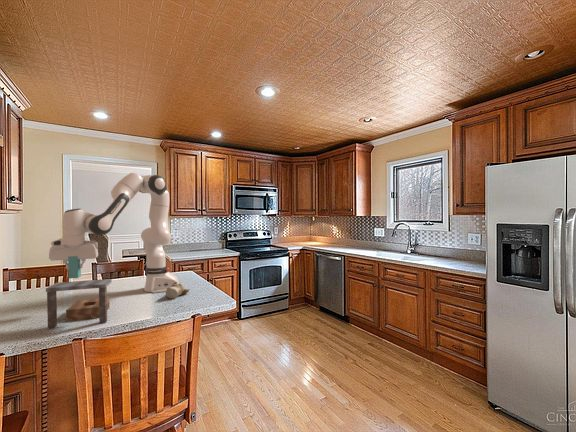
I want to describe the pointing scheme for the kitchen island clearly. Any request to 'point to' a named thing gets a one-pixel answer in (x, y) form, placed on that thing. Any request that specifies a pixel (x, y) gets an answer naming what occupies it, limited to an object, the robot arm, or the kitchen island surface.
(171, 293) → the ceramic sculpture
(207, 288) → the kitchen island surface
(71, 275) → the peg
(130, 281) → the kitchen island surface
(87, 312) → the grey miniature side table
